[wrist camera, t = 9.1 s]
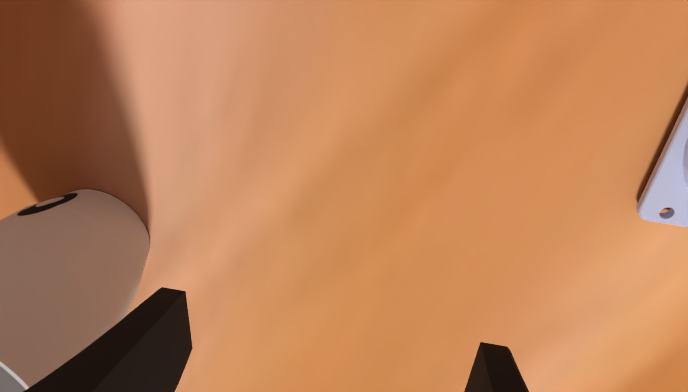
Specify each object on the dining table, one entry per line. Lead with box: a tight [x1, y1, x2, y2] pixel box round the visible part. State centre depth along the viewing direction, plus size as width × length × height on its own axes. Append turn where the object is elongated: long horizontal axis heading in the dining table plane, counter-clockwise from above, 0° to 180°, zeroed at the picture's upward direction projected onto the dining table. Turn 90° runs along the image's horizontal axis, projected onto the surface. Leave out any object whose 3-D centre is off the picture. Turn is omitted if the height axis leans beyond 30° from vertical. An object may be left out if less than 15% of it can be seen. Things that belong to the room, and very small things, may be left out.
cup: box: [0, 189, 150, 392], centre depth 22 cm, size 8×8×10 cm
